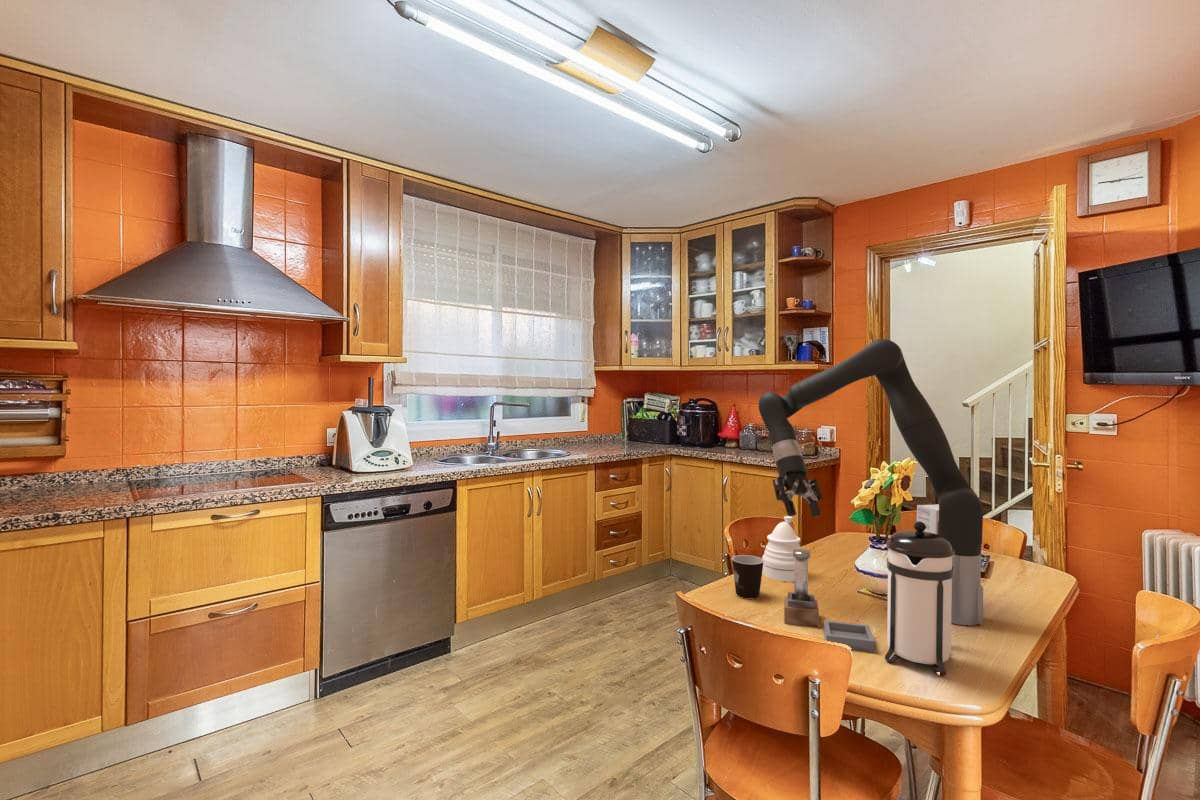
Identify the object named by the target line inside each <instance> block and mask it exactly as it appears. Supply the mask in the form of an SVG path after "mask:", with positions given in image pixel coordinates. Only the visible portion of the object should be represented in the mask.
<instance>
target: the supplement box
mask: <svg viewBox="0 0 1200 800" xmlns="http://www.w3.org/2000/svg"><path fill="white" fill-rule="evenodd" d="M919 521H920V522H923V523H924V524H925V526H926V529H925V530H924V531H925V532H931V533H934V534H938V535H939V503H937V504H917V505H916V522H919Z"/></svg>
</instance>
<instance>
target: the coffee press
mask: <svg viewBox="0 0 1200 800" xmlns="http://www.w3.org/2000/svg"><path fill="white" fill-rule="evenodd" d="M913 528H914V529H905V530H899V531H896V532H894V533H893V534H891V535H890V536H889V539H888V540H887V541H886V545H885V546H886V548H887V550H888V551H887V552H888V553H887V557H886V568H887V615H886V616H887V617H886V618H887V620H886V621H887V622H886V623H887V625H886V627H887V628H886V629H887V630H886V631H887V633H886V634H887V635H886V638H887V640H886V641H887V646H888V650H887V652H886V654H885V656H884V659H885V661H886V662H888V663H889V664H891V663H892V664H894V663H895V662H896V661H897V660H898V659H900V658H902V659H904V660H907V661H910V662H914V663H917V664H922V665H923V664H924V665H930V666H931V667H932V668H933V670H934V672H935V673H936V672H940V675H942V676H947V669H946V667H945V665H944V663H945V662H947V661H948V660H949V659H950V658H951V656H952V653H951V651H952V645H951V644H952V641H951V640H952V623H951V603H952V577H953V566H952V557H953V556H954V554H955V550H954V548H952V546H951V543H950V542H949V541H948V540H947V539H946V538H944V537H942V536H940V535H938V534H934V533H931V532H925V531H924V530H925V529H926V526H925V524H924V523H923V522H920V521H919V522H917V521H916V522H915V523H914V525H913Z"/></svg>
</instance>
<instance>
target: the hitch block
mask: <svg viewBox="0 0 1200 800" xmlns="http://www.w3.org/2000/svg"><path fill="white" fill-rule="evenodd" d="M794 594H795V591H787V595H785V596H784V597H783V599H784V601H783V602H784V604H783V605H784V608H783V609H784V611H783V613H784V615H783V617H784V618H783V619H784V624H786V625H793V626H794V625H796V626H805V627H811V628H820V610H819V603H818V599H815V594H812V593H808V601H800V600H794Z"/></svg>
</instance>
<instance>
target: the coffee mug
mask: <svg viewBox="0 0 1200 800" xmlns="http://www.w3.org/2000/svg"><path fill="white" fill-rule="evenodd" d="M731 559H732V561H731V562H732V569H733V578H734V579H733V581H734V587H735V595H736V594H737V595H738V596H737V595H736V596H737V597H739V596H740V597H739V598H741V597H743V598H742V599H745V598H755V599H758V598H759V597H760V594H761V586H762V576H763V575H762V570H763V562H764V560H763V559H762V557H758V556H755V555H748V554H740V555H739V554H738V555H734V556H733V557H731ZM757 597H758V598H757Z"/></svg>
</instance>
